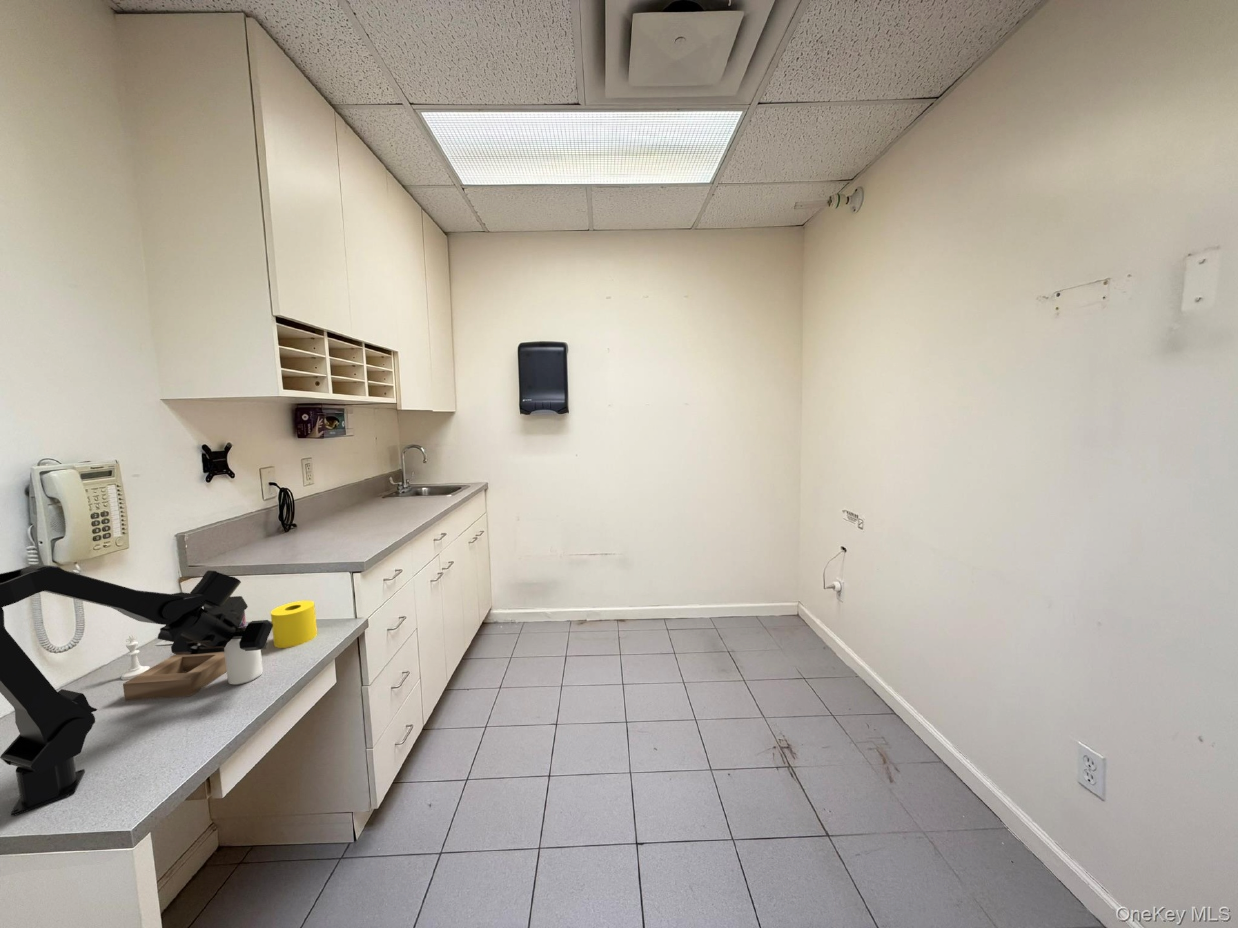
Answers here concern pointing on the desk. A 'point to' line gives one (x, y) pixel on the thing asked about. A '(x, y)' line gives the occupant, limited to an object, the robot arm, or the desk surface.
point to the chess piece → (133, 661)
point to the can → (242, 663)
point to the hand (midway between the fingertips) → (246, 647)
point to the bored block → (176, 676)
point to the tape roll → (293, 624)
